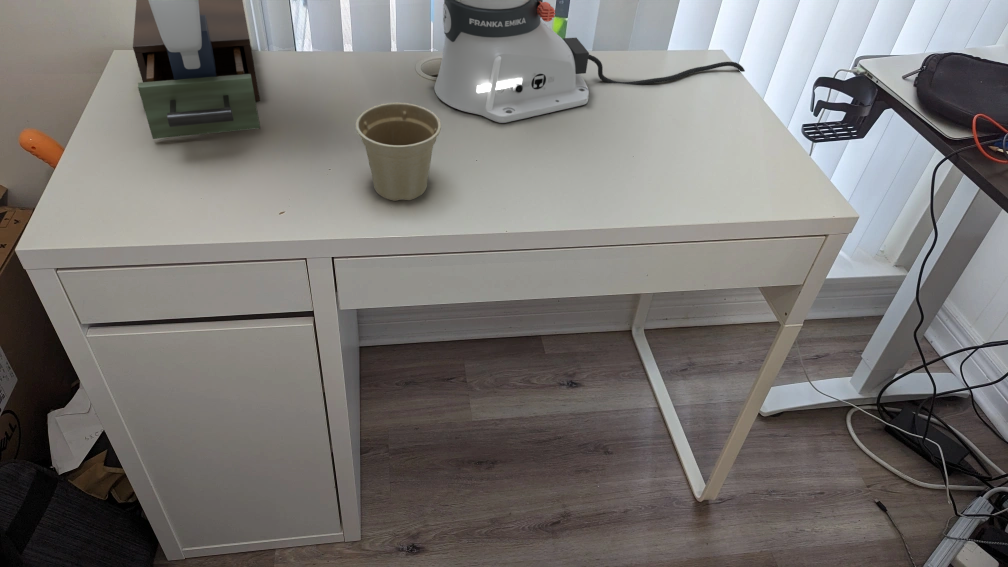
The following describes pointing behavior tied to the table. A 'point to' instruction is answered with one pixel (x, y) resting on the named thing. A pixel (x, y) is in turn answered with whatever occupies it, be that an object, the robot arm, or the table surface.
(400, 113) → the flower pot
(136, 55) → the cabinet
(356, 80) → the table surface
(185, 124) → the drawer
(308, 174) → the table surface
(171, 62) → the block
